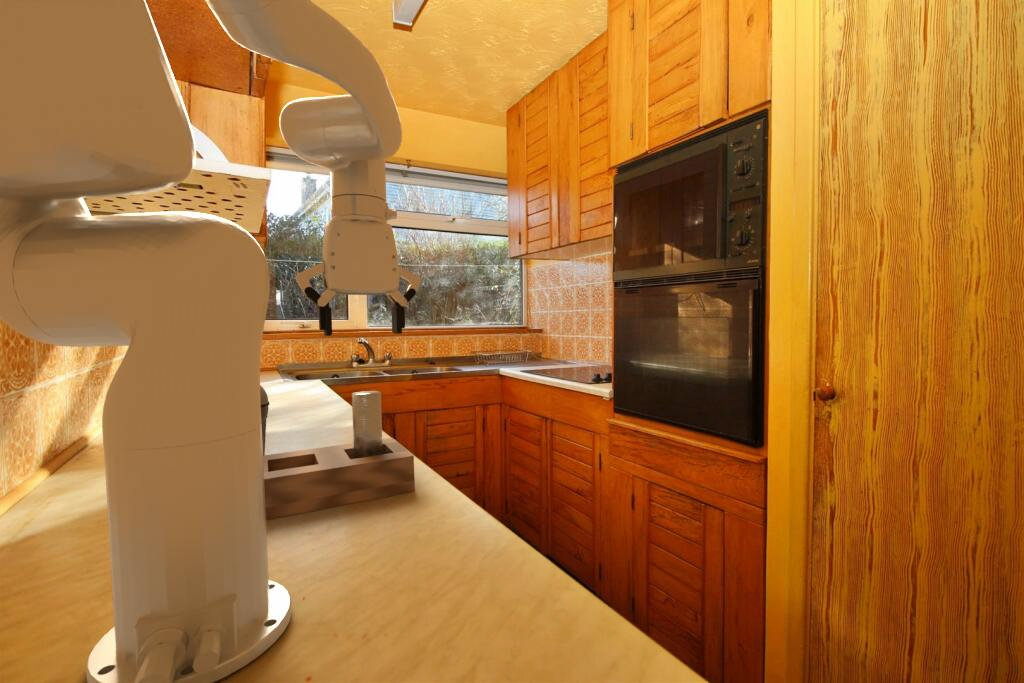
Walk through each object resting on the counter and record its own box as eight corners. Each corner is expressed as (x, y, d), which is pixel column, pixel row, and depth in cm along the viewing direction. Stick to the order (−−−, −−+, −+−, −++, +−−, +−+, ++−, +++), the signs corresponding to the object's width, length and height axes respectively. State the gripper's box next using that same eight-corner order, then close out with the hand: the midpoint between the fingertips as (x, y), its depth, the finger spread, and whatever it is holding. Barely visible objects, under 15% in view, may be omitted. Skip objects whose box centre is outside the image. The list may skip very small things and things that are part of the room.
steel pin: (386, 476, 67) (383, 393, 67) (357, 481, 66) (354, 396, 65) (379, 468, 71) (377, 390, 70) (352, 473, 69) (349, 392, 69)
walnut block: (393, 468, 76) (392, 437, 76) (414, 490, 65) (413, 455, 65) (253, 491, 67) (251, 457, 66) (251, 522, 56) (249, 481, 56)
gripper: (411, 224, 74) (415, 332, 75) (291, 215, 66) (296, 336, 67) (426, 214, 68) (429, 333, 68) (294, 202, 59) (299, 337, 60)
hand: (363, 334), depth 67 cm, fingers open, 9 cm apart
